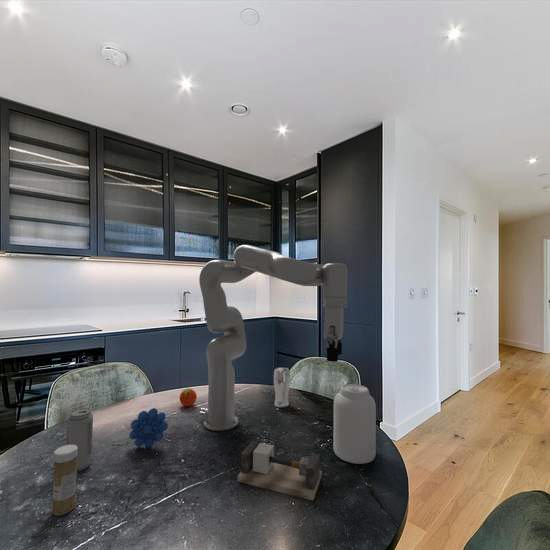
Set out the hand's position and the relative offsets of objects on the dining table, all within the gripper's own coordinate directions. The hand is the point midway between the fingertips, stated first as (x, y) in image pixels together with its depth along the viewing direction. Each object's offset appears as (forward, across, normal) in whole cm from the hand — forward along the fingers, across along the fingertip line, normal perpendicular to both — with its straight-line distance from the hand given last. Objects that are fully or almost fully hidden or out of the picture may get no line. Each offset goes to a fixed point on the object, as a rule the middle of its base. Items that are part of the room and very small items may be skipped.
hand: (334, 357), depth 97 cm
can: (+29, -1, +6) cm, 30 cm away
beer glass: (+29, -30, -26) cm, 49 cm away
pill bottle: (+29, +46, -54) cm, 77 cm away
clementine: (+29, -14, -63) cm, 71 cm away
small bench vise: (+29, +19, -12) cm, 36 cm away
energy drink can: (+29, +33, -66) cm, 79 cm away
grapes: (+29, +17, -55) cm, 65 cm away
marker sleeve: (+27, +19, -16) cm, 36 cm away
